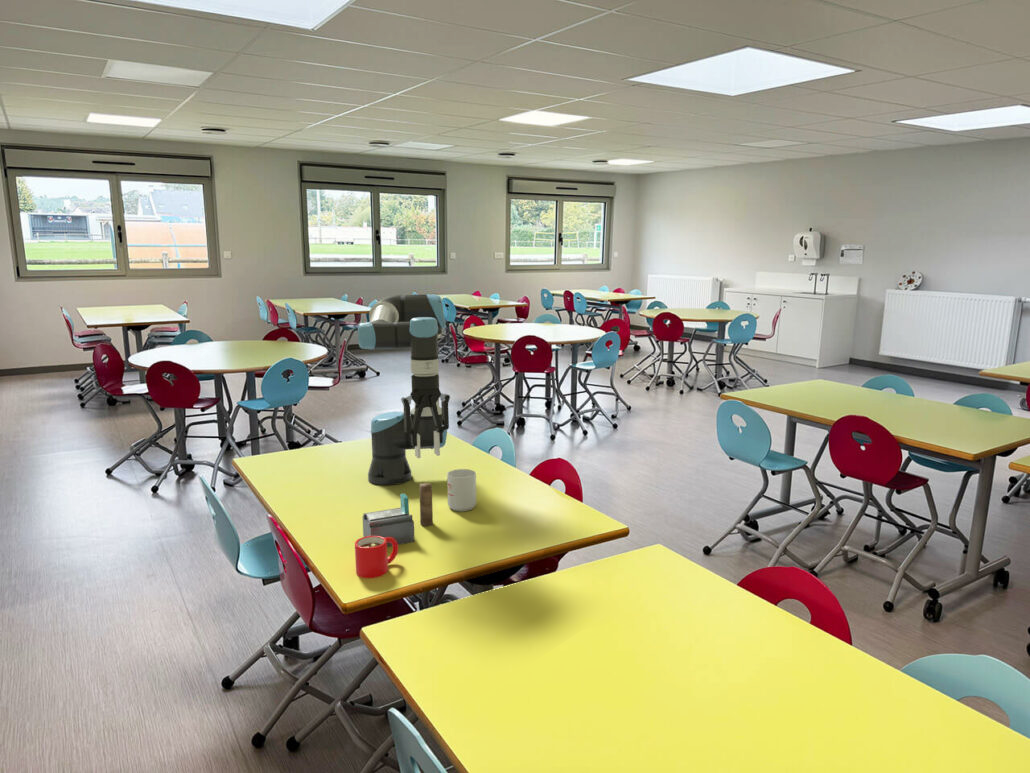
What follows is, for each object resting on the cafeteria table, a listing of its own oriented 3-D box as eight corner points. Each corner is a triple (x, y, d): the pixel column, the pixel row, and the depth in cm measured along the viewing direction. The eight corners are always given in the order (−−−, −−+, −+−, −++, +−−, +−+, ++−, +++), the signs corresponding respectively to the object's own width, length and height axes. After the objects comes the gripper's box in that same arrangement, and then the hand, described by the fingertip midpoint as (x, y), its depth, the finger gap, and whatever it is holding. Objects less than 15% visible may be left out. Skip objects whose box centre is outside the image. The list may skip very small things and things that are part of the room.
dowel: (419, 522, 207) (417, 484, 205) (430, 520, 209) (429, 482, 207) (422, 527, 204) (421, 487, 202) (434, 525, 206) (433, 486, 203)
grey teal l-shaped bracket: (366, 517, 195) (365, 498, 193) (404, 511, 199) (403, 492, 198) (370, 523, 190) (369, 504, 189) (409, 517, 195) (408, 498, 194)
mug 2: (481, 508, 219) (481, 474, 217) (457, 514, 214) (457, 479, 212) (461, 497, 228) (460, 464, 226) (437, 503, 223) (436, 470, 221)
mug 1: (407, 565, 180) (406, 536, 178) (368, 581, 171) (367, 551, 169) (388, 556, 185) (387, 528, 183) (349, 571, 176) (348, 542, 175)
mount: (363, 536, 198) (362, 511, 196) (404, 528, 203) (403, 505, 201) (371, 549, 189) (370, 524, 188) (414, 541, 194) (413, 517, 192)
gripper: (396, 378, 185) (399, 463, 189) (460, 373, 192) (462, 455, 197) (389, 374, 192) (392, 456, 196) (451, 369, 199) (453, 448, 203)
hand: (427, 455), depth 196 cm, fingers open, 5 cm apart
